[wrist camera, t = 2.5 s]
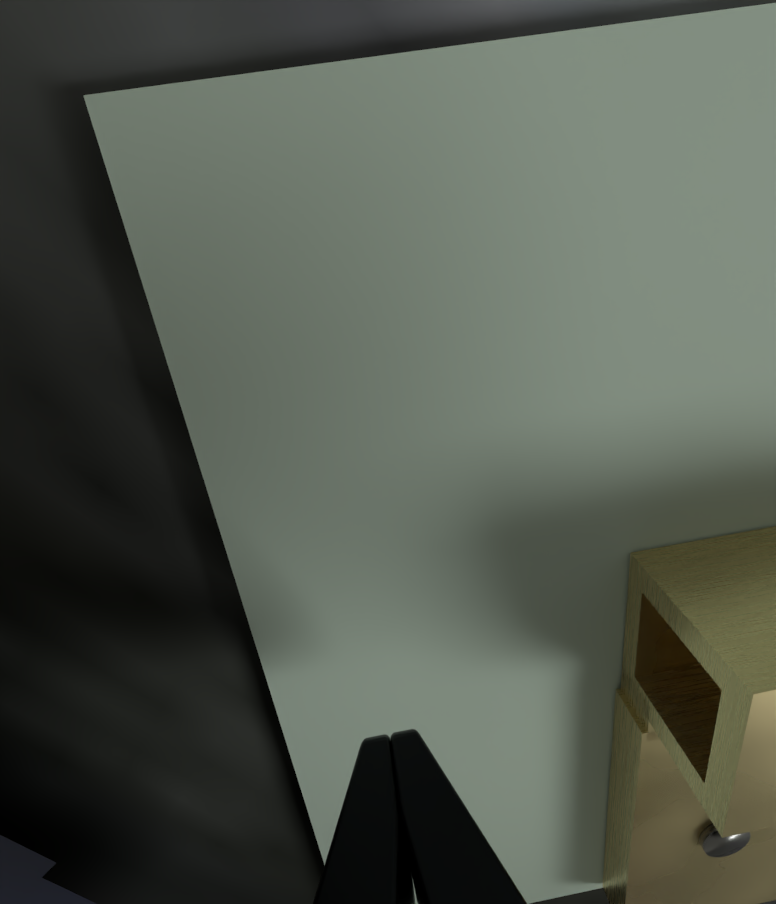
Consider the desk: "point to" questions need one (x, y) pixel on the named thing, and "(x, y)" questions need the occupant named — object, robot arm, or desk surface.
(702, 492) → the mat
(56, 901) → the navy blue cloth
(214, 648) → the desk surface
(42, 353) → the desk surface
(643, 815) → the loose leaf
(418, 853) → the robot arm
